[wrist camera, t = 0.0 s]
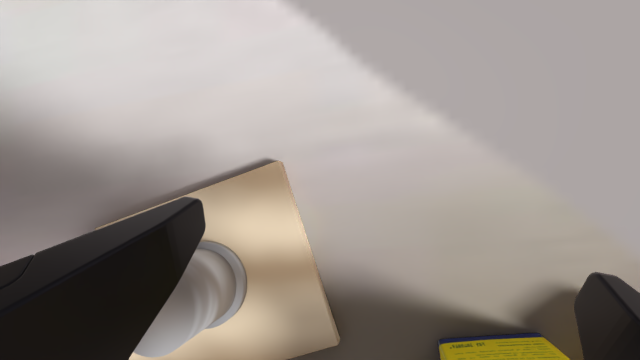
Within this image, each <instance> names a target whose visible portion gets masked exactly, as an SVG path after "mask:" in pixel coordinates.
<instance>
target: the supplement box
mask: <svg viewBox="0 0 640 360" xmlns="http://www.w3.org/2000/svg"><path fill="white" fill-rule="evenodd" d="M438 350H439V357H440V360H570V359H569V358H568V357H567V356H565V355H564V354H563V353H562V352H561V351H560V350H558V349H557V348H556V347H555V346H554V345H552V344H551V343H550V342H549V341H548V340H546V339H545V338H544V337H543V336H542V335H540V334H539V333H523V334H511V335H493V336H479V337H465V338H450V339H441V340H438Z"/></svg>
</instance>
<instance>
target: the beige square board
mask: <svg viewBox="0 0 640 360" xmlns="http://www.w3.org/2000/svg"><path fill="white" fill-rule="evenodd" d="M182 197H193V198H198V199H200V200H201V201H202V203H203V209H204V216H205V223H206V228H205V232H204V235H203V237H202V239H201V241H200V243H199V245H198V246H197V248H196V250H195V252H194V254H193V256H192V258H191V260H190V262H189V264H188V266H187V268H186V270H185V272H184V274H183V276H182V277H181V279H180V281H179V283H178V284H177V286H176V288H175V289H174V291H173V292H172V294H171V295H170V297H169V298H168V300H167V302H166V303H165V305H164V306H163V308H162V309H161V311H160V312H159V314H158V315H157V317H156V318H155V320H154V321H153V323H152V324H151V326H150V327H149V329H148V330H147V332H146V333H145V335H144V336H143V338H142V339H141V341H140V343H139V344H138V346H137V347H136V349H135V350H134V352H133V353H132V355H131V356H130V358H129V360H287V359H291V358H294V357H298V356H301V355H305V354H308V353H312V352H315V351H319V350H322V349H326V348H329V347H333V346H336V345H338V344H339V341H340V337H339V334H338V331H337V327H336V324H335V321H334V318H333V315H332V312H331V309H330V306H329V303H328V300H327V297H326V294H325V291H324V288H323V285H322V282H321V279H320V276H319V273H318V270H317V266H316V263H315V260H314V257H313V254H312V251H311V248H310V245H309V242H308V239H307V236H306V233H305V230H304V227H303V224H302V221H301V218H300V215H299V212H298V209H297V205H296V202H295V199H294V196H293V193H292V190H291V187H290V184H289V181H288V178H287V175H286V172H285V169H284V166H283V163H282V162H280V161H276V162H273V163H270V164H268V165H265V166H262V167H259V168H257V169H254V170H251V171H249V172H246V173H243V174H241V175H238V176H235V177H232V178H230V179H227V180H224V181H222V182H219V183H216V184H214V185H211V186H208V187H205V188H203V189H200V190H197V191H195V192H192V193H189V194H187V195H184V196H181V197H178V198H176V199H173V200H170V201H168V202H165V203H162V204H160V205H157V206H154V207H151V208H149V209H146V210H143V211H141V212H138V213H135V214H132V215H130V216H127V217H124V218H122V219H119V220H116V221H114V222H111V223H108V224H105V225H103V226H100V227H97V228H95V230H98V229H101V228H103V227H106V226H108V225H111V224H114V223H116V222H119V221H122V220H124V219H127V218H129V217H132V216H135V215H137V214H140V213H143V212H145V211H148V210H150V209H153V208H156V207H158V206H161V205H164V204H166V203H169V202H172V201H174V200H177V199H179V198H182Z"/></svg>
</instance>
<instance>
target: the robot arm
mask: <svg viewBox="0 0 640 360" xmlns="http://www.w3.org/2000/svg"><path fill="white" fill-rule="evenodd" d="M205 228H206V223H205V216H204V209H203V203H202V201H201V200H200V199H198V198H193V197H182V198H179V199H177V200H174V201H172V202H169V203H166V204H164V205H161V206H158V207H156V208H153V209H150V210H148V211H145V212H143V213H140V214H137V215H135V216H132V217H129V218H127V219H124V220H122V221H119V222H116V223H114V224H111V225H108V226H106V227H103V228H101V229H98V230H95V231H93V232H90V233H87V234H85V235H82V236H80V237H77V238H74V239H72V240H69V241H66V242H64V243H61V244H58V245H56V246H53V247H51V248H48V249H45V250H43V251H40V252H37V253H36V254H35V255H29V256H27V257H24V258H22V259H19V260H16V261H14V262H11V263H8V264H6V265H3V266H0V360H128V359H129V358H130V356H131V355H132V353H133V352H134V350H135V349H136V347H137V346H138V344H139V343H140V341H141V339H142V338H143V336H144V335H145V333H146V332H147V330H148V329H149V327H150V326H151V324H152V323H153V321H154V320H155V318H156V317H157V315H158V314H159V312H160V311H161V309H162V308H163V306H164V305H165V303H166V302H167V300H168V298H169V297H170V295H171V294H172V292H173V291H174V289H175V288H176V286H177V284H178V283H179V281H180V279H181V277H182V276H183V274H184V272H185V270H186V268H187V266H188V264H189V262H190V260H191V258H192V256H193V254H194V252H195V250H196V248H197V246H198V245H199V243H200V241H201V239H202V237H203V235H204V232H205ZM574 310H575V315H576V320H577V325H578V330H579V335H580V340H581V345H582V350H583V355H584V360H640V293H639V292H638V291H636V290H635V289H633V288H632V287H631V286H629V285H628V284H627V283H625V282H624V281H623V280H621V279H620V278H618V277H617V276H614V275H609V274H604V273H598V272H594V273H591V274H590V275H589V276H588V278H587V280H586V281H585V283H584V285H583V286H582V288H581V290H580V292H579V293H578V295H577V297H576V299H575V303H574Z"/></svg>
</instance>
